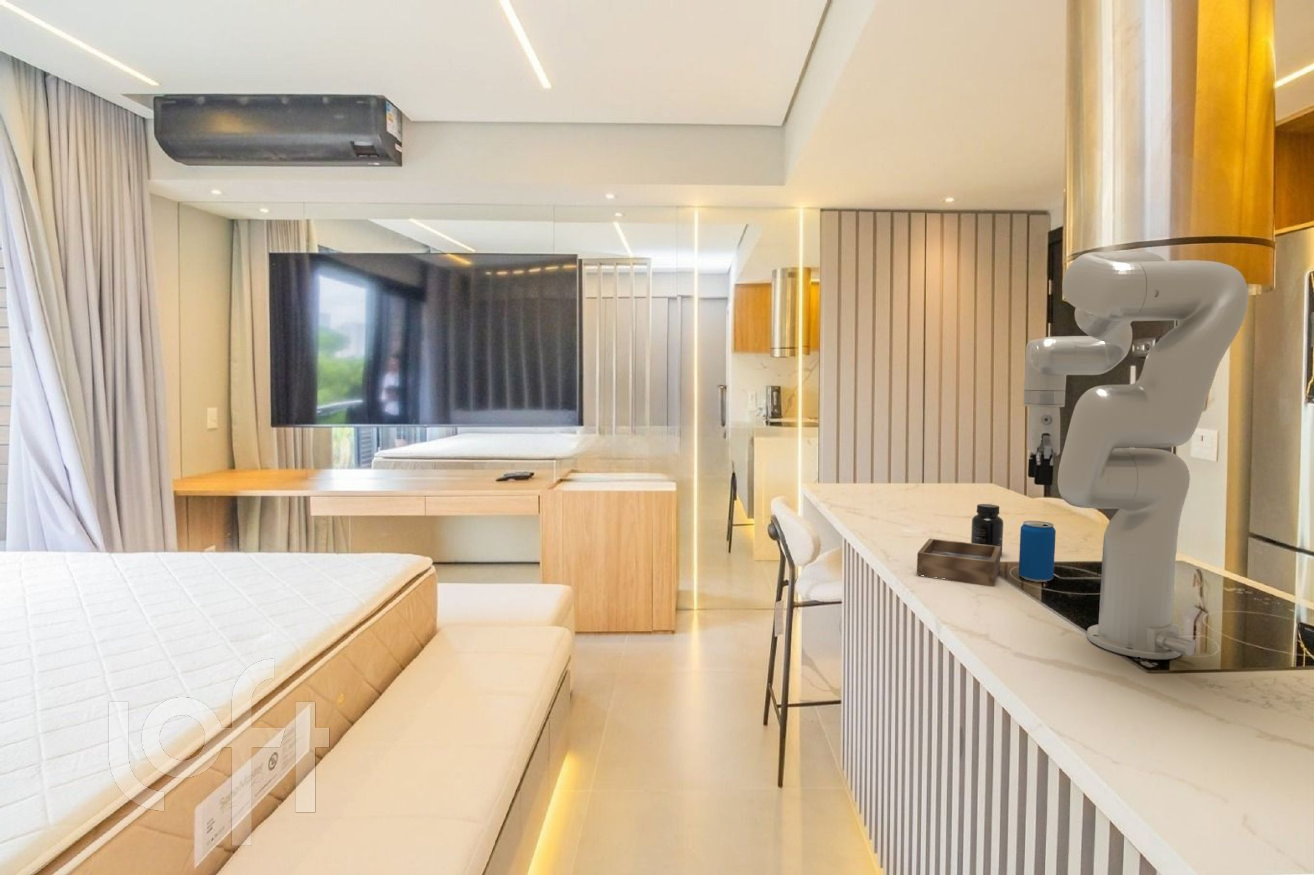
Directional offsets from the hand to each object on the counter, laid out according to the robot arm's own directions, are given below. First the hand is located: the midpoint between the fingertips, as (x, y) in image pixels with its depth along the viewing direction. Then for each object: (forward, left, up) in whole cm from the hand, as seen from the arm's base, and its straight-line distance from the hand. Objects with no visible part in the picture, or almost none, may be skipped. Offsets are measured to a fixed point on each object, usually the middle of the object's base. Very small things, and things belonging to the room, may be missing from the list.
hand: (1039, 481), depth 145 cm
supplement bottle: (+19, -6, -21) cm, 29 cm away
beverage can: (0, 0, -21) cm, 21 cm away
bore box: (+10, +11, -21) cm, 26 cm away
